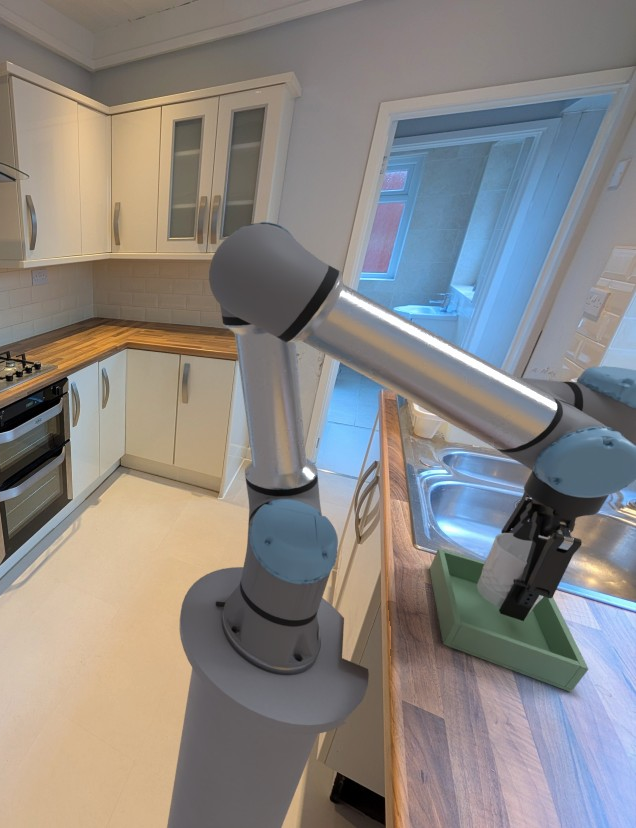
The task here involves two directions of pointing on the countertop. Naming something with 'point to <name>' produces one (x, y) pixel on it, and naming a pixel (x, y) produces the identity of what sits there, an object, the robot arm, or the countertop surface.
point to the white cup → (503, 568)
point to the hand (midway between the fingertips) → (504, 596)
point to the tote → (503, 626)
